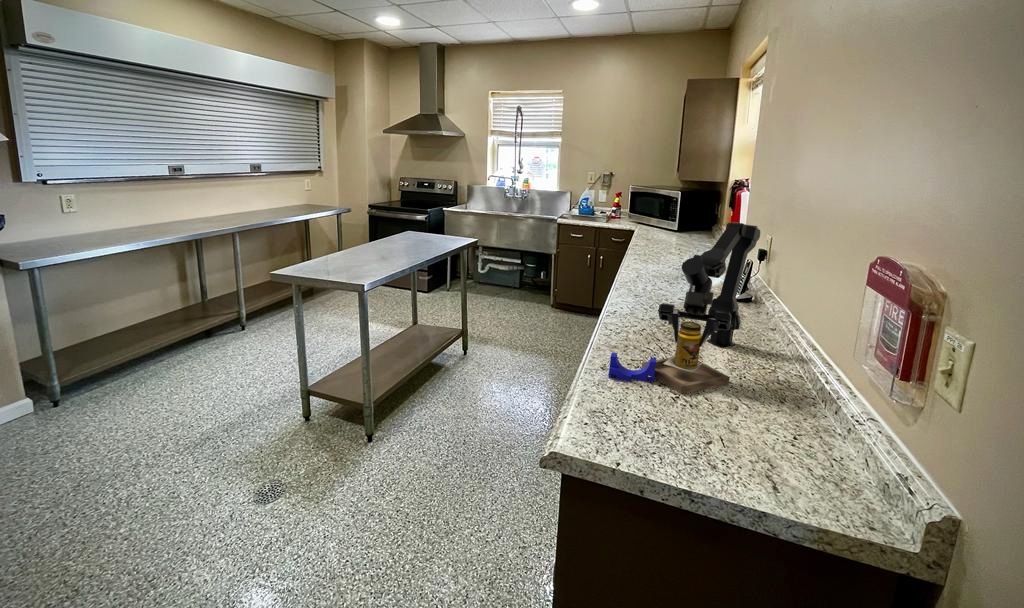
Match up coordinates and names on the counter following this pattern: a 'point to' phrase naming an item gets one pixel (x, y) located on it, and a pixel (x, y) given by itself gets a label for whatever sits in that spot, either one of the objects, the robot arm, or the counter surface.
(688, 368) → the condiment
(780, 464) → the counter surface
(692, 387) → the dock holder
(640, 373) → the cable clip
